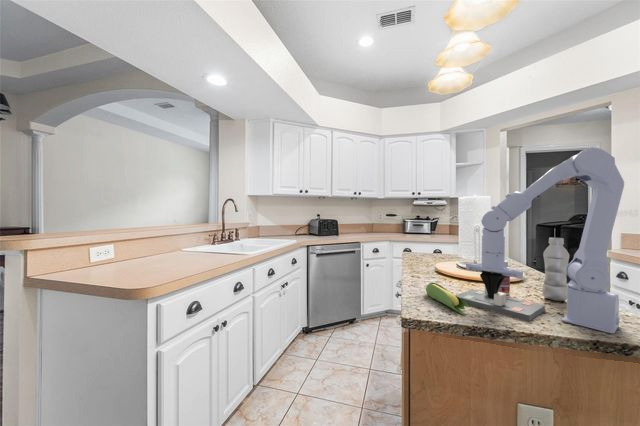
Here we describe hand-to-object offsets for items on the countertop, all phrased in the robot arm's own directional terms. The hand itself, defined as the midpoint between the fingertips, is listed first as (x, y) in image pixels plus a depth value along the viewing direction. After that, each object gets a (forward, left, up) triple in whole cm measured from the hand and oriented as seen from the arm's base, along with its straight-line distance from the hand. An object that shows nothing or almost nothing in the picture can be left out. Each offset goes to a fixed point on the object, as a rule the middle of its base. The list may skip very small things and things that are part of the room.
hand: (492, 298), depth 82 cm
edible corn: (+11, +7, -3) cm, 13 cm away
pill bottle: (+5, -19, -3) cm, 20 cm away
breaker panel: (0, -4, -3) cm, 5 cm away
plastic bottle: (-9, -25, -3) cm, 27 cm away
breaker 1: (+4, -8, -1) cm, 9 cm away
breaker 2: (-2, 0, -1) cm, 2 cm away
